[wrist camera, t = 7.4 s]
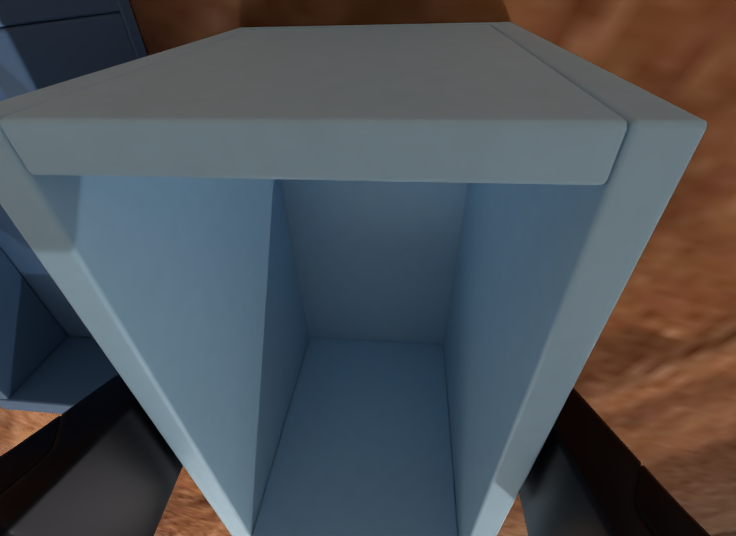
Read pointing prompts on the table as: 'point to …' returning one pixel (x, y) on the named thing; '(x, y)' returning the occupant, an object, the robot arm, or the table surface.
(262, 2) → the table surface
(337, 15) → the table surface
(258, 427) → the top bin
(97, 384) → the lower bin
